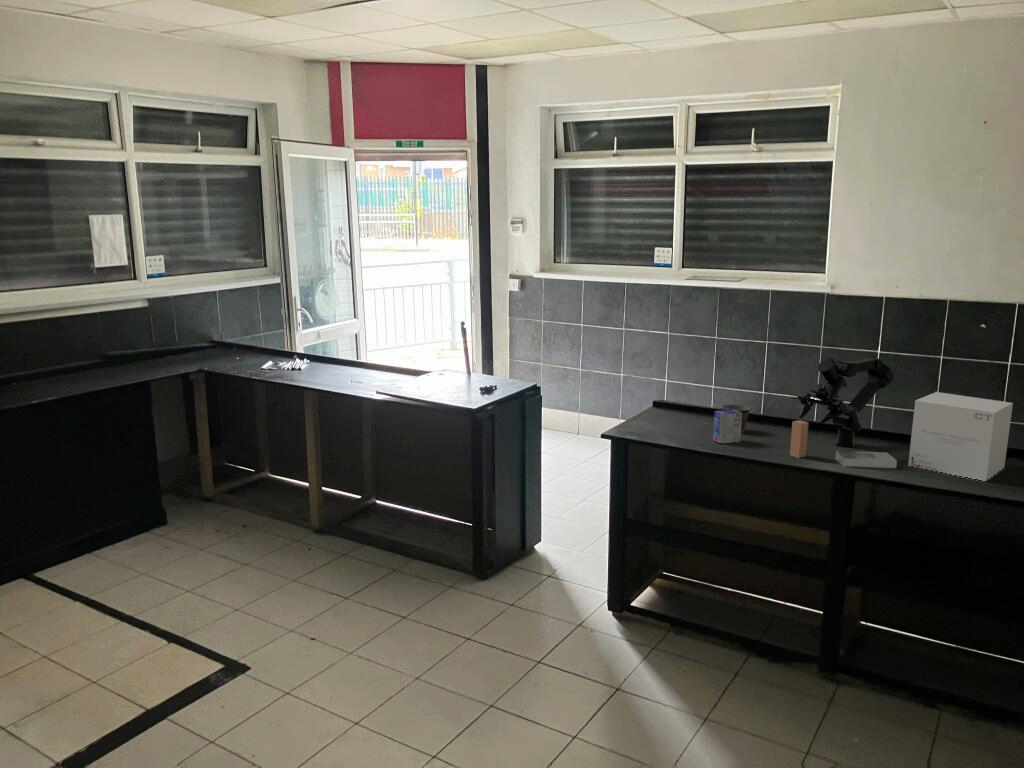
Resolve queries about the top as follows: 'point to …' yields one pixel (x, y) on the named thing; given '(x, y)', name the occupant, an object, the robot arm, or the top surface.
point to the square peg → (799, 439)
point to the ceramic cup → (744, 413)
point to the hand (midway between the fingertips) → (810, 420)
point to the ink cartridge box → (727, 425)
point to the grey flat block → (866, 459)
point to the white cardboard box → (960, 435)
